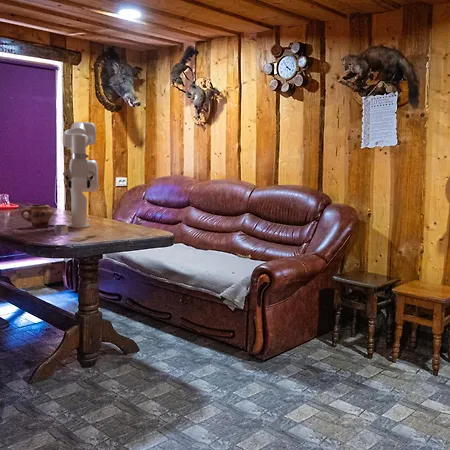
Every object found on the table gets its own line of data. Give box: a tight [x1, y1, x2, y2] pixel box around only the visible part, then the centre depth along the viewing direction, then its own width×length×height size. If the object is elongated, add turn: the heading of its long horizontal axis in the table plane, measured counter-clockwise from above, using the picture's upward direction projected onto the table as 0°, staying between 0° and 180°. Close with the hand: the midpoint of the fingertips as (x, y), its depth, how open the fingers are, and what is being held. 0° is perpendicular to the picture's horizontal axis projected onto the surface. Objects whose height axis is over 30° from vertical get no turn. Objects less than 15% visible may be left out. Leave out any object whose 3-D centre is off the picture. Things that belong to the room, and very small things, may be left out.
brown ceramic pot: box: [20, 204, 55, 229], centre depth 325 cm, size 20×12×14 cm, turn 133°
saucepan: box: [45, 224, 69, 236], centre depth 303 cm, size 15×8×5 cm, turn 70°
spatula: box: [69, 234, 96, 242], centre depth 288 cm, size 18×6×1 cm, turn 160°
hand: (79, 188), depth 290 cm, fingers open, 9 cm apart
